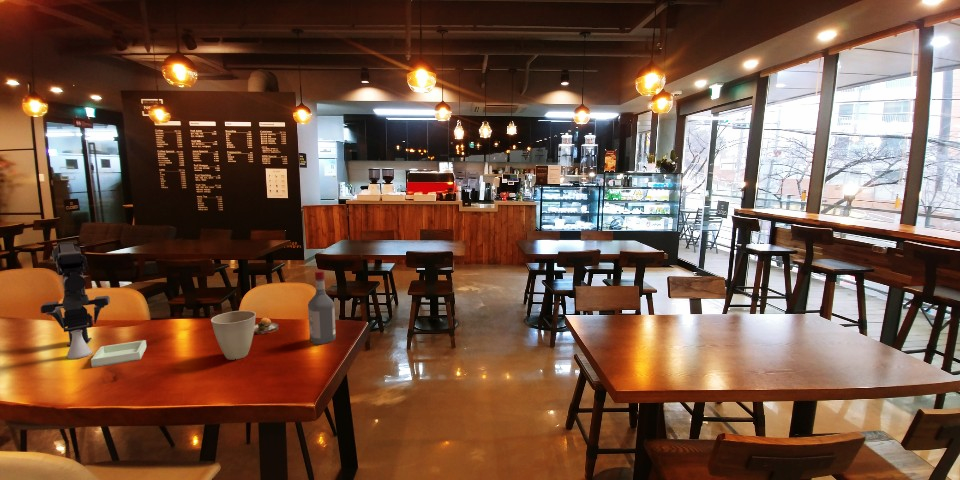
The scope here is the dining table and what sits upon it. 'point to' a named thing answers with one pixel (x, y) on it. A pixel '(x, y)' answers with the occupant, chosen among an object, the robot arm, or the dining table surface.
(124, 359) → the tray
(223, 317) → the plant pot
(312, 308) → the liquor
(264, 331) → the burger
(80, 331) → the flask
